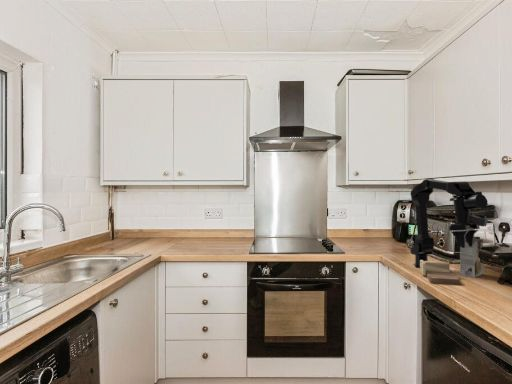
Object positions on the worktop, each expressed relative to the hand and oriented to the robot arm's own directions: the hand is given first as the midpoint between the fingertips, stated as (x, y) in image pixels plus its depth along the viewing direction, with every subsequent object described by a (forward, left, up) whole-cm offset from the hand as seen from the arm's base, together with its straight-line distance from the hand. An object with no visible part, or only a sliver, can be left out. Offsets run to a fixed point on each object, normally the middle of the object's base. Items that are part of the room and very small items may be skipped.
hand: (467, 247), depth 144 cm
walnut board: (-2, -10, -15) cm, 18 cm away
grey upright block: (-13, +5, -15) cm, 20 cm away
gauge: (-8, -11, -14) cm, 19 cm away
